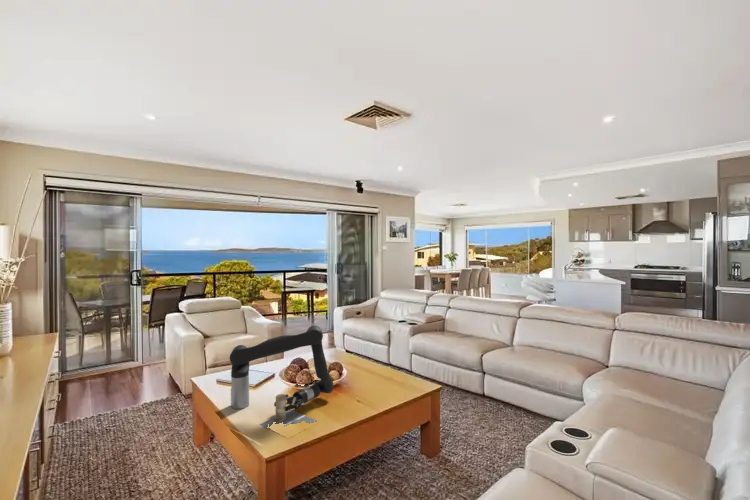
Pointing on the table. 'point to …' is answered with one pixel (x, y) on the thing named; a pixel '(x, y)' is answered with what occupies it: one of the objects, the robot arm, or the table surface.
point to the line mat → (289, 419)
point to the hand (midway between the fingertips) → (280, 407)
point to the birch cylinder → (280, 407)
